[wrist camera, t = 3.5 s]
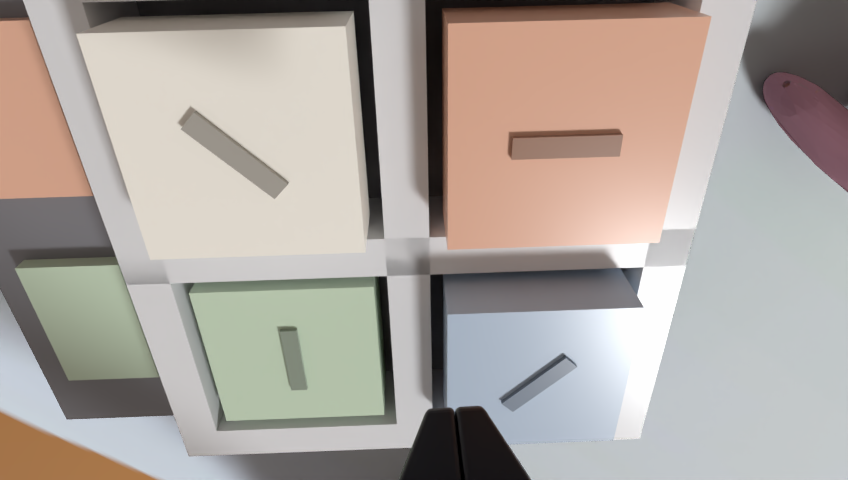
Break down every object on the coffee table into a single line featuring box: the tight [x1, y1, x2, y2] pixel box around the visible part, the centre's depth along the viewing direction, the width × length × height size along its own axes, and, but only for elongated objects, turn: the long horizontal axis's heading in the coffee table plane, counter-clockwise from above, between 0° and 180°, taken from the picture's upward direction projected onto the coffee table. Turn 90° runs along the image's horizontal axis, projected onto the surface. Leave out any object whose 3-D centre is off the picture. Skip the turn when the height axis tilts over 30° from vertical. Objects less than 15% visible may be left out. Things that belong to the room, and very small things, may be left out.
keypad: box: [0, 0, 757, 456], centre depth 17 cm, size 17×22×6 cm
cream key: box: [76, 11, 370, 260], centre depth 13 cm, size 5×5×2 cm
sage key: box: [189, 276, 386, 421], centre depth 18 cm, size 5×5×2 cm
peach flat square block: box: [442, 2, 712, 250], centre depth 13 cm, size 5×5×2 cm
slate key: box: [443, 268, 644, 444], centre depth 17 cm, size 5×5×2 cm
